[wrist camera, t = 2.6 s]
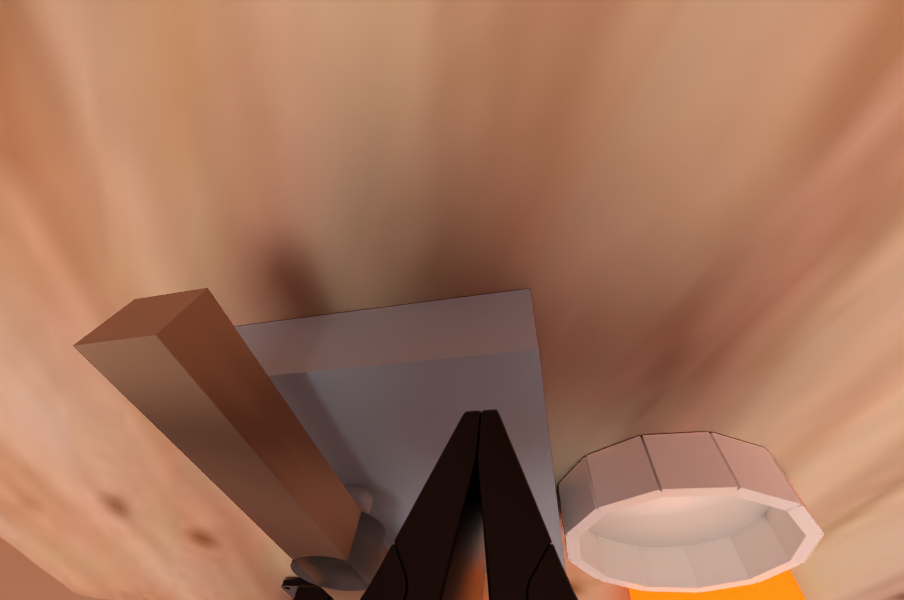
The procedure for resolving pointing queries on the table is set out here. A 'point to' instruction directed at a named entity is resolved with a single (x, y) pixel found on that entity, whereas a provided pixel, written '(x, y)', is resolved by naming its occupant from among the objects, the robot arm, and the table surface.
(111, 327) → the lever
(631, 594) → the orange juice
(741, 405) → the table surface
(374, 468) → the board
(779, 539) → the bowl
